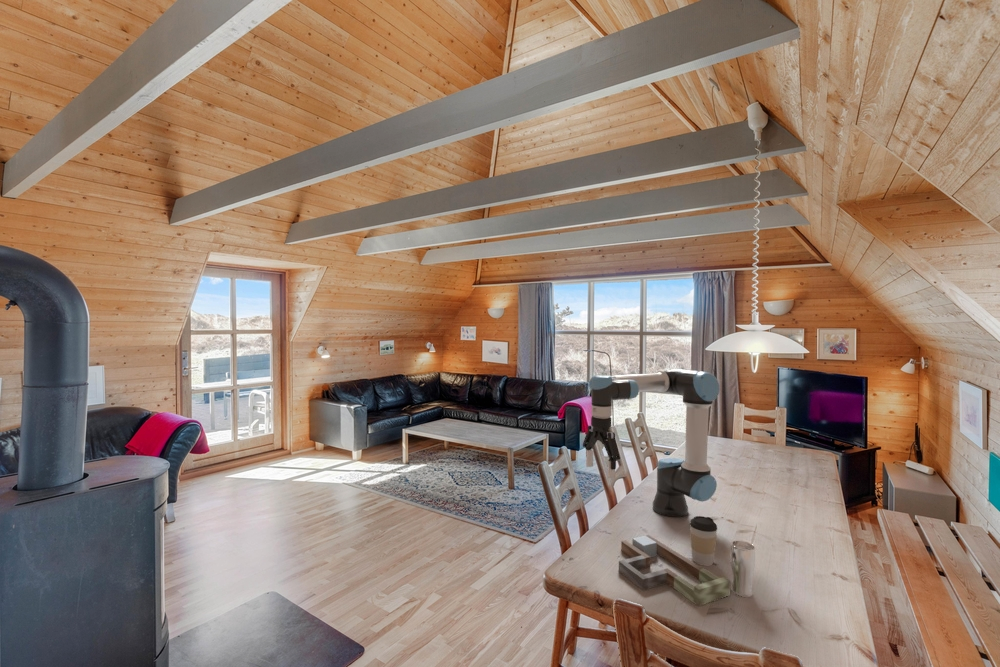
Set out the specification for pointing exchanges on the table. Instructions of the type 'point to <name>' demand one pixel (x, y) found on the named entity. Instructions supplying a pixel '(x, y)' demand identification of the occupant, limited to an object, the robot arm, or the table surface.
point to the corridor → (672, 574)
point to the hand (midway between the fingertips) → (600, 471)
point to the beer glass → (742, 567)
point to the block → (645, 545)
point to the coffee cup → (703, 539)
